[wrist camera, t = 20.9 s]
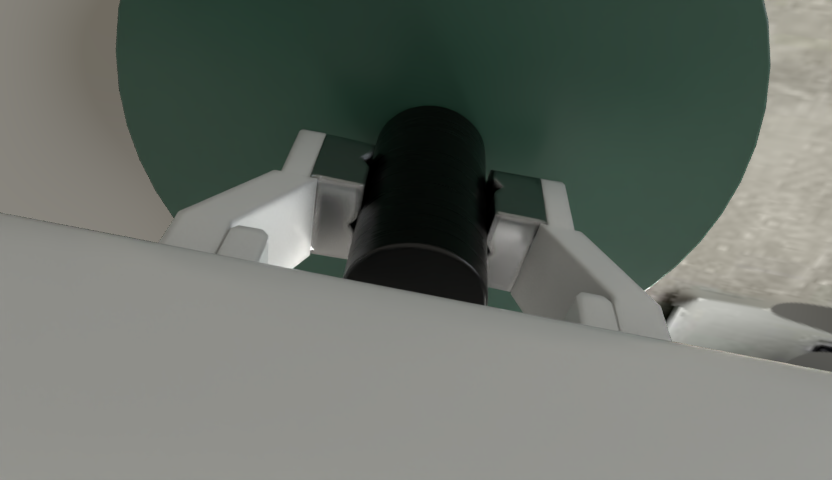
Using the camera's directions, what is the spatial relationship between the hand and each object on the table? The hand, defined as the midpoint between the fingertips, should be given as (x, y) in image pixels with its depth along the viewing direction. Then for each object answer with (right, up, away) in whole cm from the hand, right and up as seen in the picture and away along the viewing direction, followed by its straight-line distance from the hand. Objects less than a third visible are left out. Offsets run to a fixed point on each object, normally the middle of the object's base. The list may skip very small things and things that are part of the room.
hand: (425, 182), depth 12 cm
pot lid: (0, +1, +1) cm, 2 cm away
